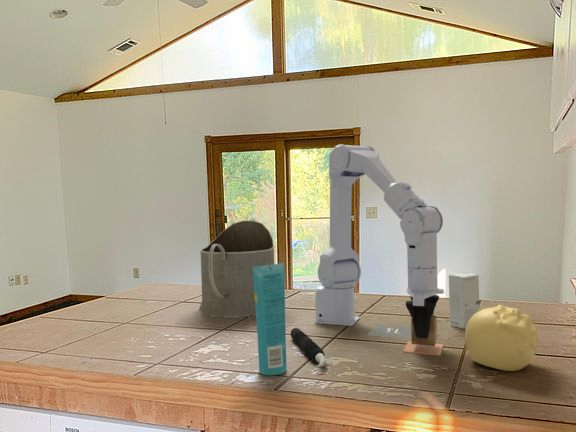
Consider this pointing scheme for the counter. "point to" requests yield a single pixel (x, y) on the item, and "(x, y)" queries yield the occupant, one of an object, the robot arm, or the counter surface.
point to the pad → (423, 349)
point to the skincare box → (463, 298)
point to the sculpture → (501, 338)
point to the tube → (270, 317)
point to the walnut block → (431, 336)
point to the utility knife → (308, 347)
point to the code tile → (391, 331)
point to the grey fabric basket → (234, 269)
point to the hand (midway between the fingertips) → (423, 334)
